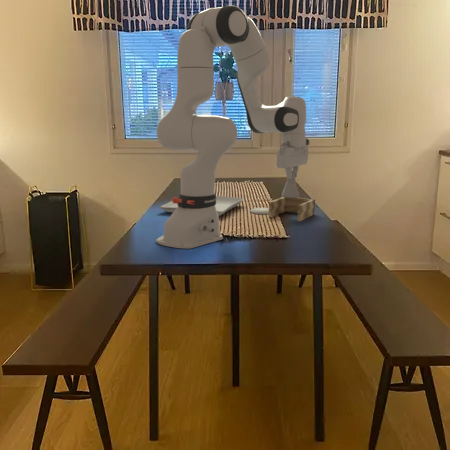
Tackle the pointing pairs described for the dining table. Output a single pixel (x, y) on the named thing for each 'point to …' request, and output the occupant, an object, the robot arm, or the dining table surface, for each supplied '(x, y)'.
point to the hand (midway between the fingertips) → (291, 178)
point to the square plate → (221, 205)
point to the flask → (291, 188)
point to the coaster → (260, 211)
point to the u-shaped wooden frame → (292, 207)
